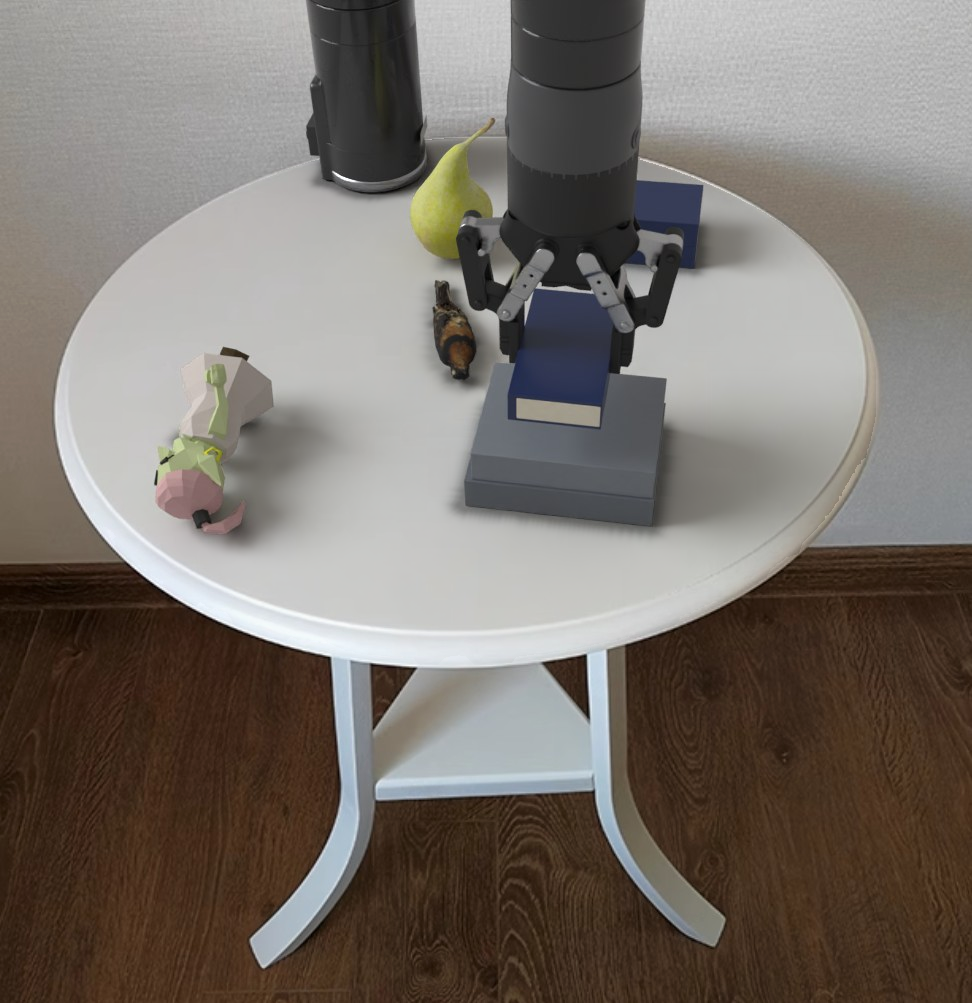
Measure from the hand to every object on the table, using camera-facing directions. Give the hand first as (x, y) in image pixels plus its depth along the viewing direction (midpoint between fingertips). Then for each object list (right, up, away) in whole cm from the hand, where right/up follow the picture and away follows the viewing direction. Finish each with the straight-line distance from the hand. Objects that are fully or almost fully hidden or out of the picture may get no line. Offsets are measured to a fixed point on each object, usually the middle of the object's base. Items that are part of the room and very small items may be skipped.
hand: (565, 360), depth 82 cm
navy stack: (+7, +13, +26) cm, 30 cm away
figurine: (-24, +1, +10) cm, 26 cm away
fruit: (-8, +12, +26) cm, 30 cm away
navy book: (0, -1, +1) cm, 1 cm away
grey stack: (+1, -7, +7) cm, 10 cm away
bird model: (-8, +4, +18) cm, 20 cm away
